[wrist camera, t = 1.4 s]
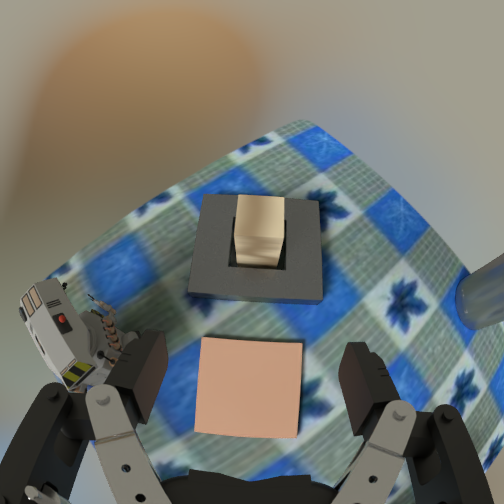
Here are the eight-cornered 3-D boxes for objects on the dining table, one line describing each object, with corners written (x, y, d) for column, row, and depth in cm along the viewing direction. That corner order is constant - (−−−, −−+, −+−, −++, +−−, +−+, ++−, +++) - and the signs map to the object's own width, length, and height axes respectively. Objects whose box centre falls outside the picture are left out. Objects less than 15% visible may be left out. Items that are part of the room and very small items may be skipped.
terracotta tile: (301, 343, 32) (302, 343, 31) (295, 436, 27) (296, 437, 26) (202, 337, 32) (202, 336, 32) (195, 430, 27) (194, 431, 27)
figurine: (124, 294, 34) (62, 247, 20) (160, 372, 30) (99, 369, 16) (75, 322, 32) (3, 290, 18) (105, 397, 28) (30, 402, 15)
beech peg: (277, 235, 38) (284, 197, 30) (276, 269, 36) (283, 238, 28) (240, 233, 38) (238, 194, 30) (237, 267, 36) (234, 234, 28)
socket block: (314, 210, 40) (318, 201, 37) (317, 304, 34) (322, 300, 32) (206, 203, 40) (203, 193, 38) (191, 296, 34) (187, 291, 32)
